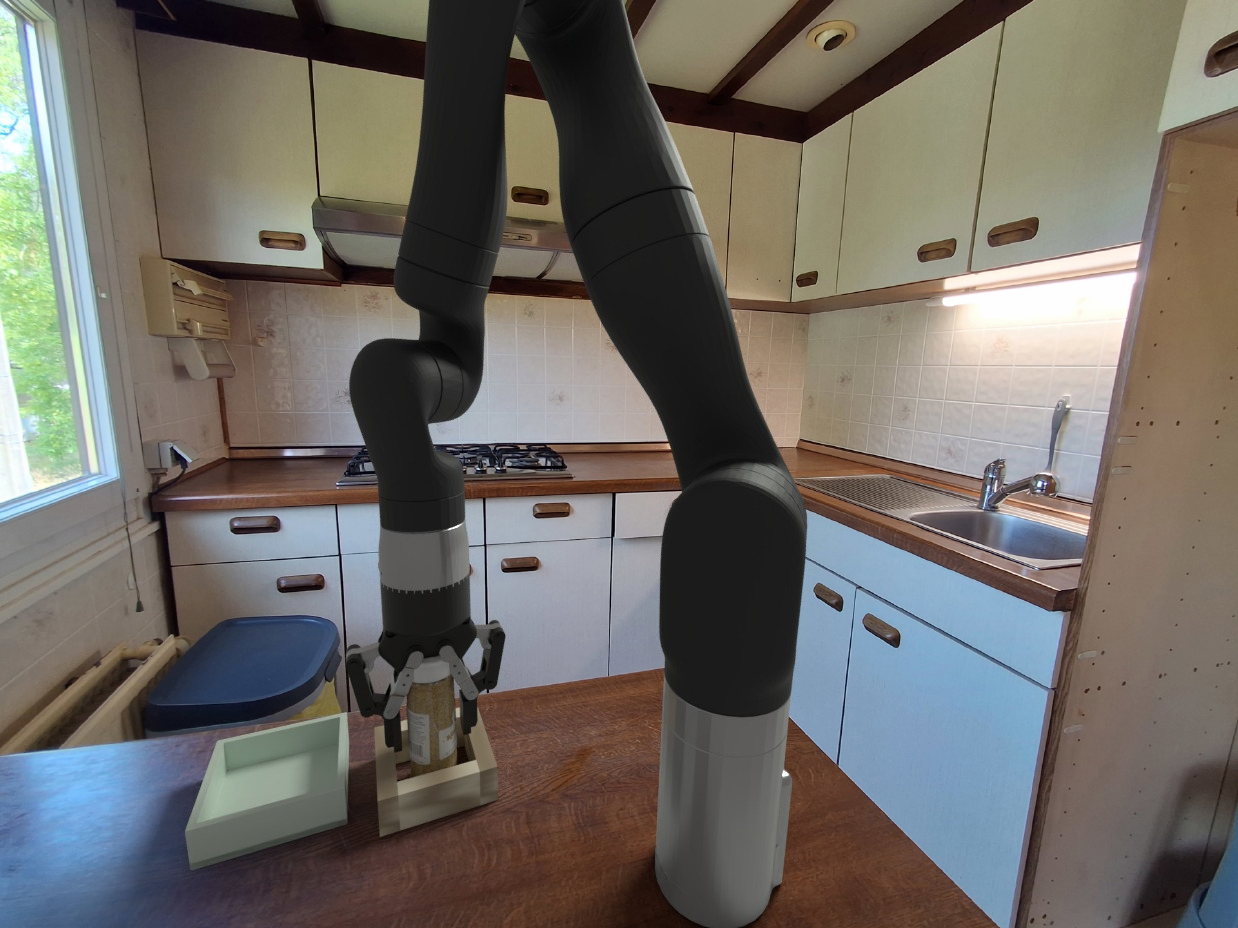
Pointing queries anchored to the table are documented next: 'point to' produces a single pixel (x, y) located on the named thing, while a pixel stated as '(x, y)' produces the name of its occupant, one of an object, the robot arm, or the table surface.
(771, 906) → the table surface
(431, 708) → the sprinkles bottle
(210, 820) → the tray
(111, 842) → the table surface
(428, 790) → the socket block
